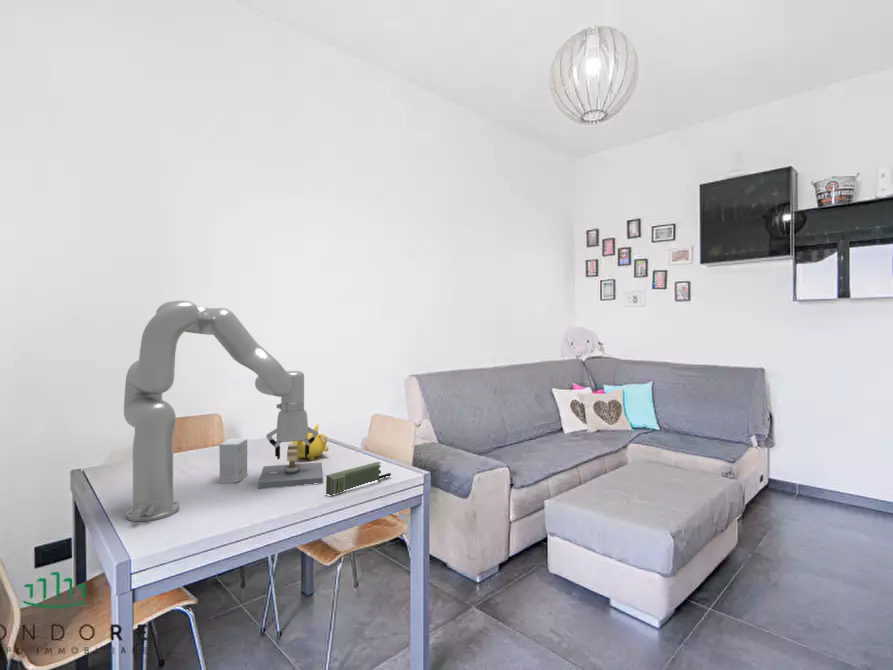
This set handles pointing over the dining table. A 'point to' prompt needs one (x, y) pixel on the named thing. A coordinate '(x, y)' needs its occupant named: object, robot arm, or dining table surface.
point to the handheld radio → (352, 478)
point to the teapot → (312, 446)
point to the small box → (233, 460)
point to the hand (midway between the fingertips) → (292, 457)
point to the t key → (292, 459)
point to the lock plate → (290, 475)
